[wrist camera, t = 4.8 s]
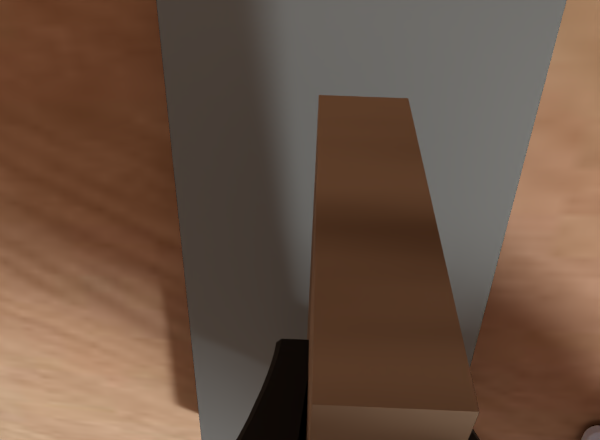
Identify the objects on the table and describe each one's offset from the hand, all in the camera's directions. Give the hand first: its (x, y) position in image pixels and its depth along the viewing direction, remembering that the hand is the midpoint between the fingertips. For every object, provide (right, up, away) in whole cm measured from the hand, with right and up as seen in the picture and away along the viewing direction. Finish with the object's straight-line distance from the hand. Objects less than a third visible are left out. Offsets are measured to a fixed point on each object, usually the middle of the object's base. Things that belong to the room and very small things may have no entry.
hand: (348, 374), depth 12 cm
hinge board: (0, +2, +7) cm, 8 cm away
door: (0, +1, +3) cm, 3 cm away
